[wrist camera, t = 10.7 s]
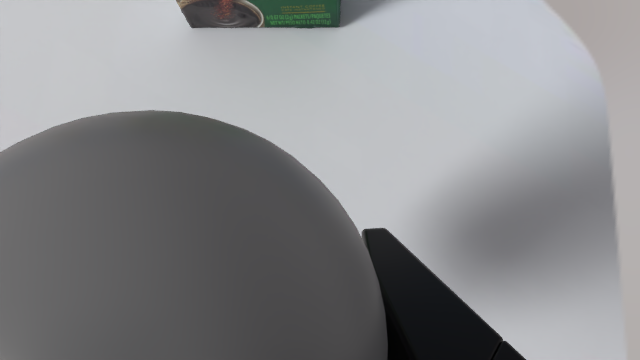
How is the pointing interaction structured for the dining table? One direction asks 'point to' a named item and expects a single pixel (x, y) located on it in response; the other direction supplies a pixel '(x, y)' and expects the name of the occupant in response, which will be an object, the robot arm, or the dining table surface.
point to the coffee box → (261, 13)
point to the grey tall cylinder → (177, 248)
